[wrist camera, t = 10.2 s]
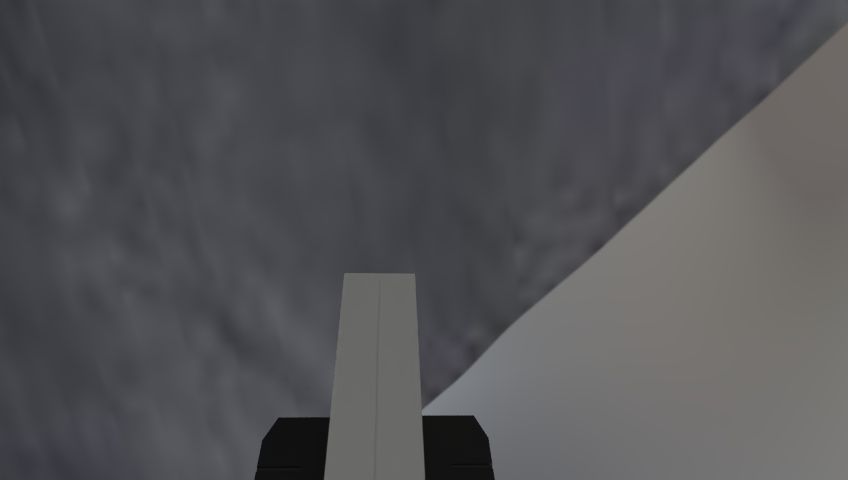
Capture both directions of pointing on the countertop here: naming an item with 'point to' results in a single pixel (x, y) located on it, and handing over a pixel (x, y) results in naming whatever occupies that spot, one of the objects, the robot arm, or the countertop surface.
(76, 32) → the countertop surface
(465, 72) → the countertop surface
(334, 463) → the robot arm
